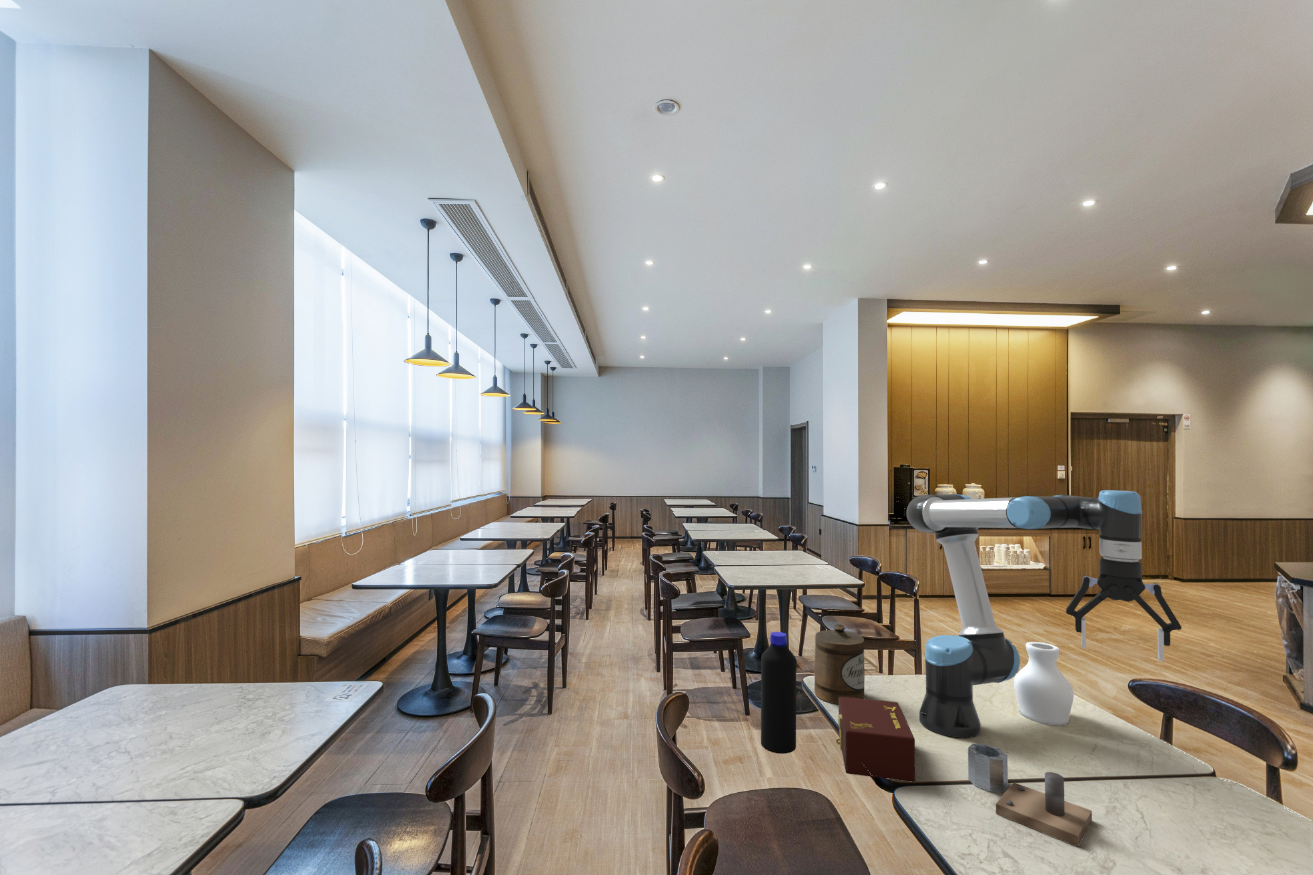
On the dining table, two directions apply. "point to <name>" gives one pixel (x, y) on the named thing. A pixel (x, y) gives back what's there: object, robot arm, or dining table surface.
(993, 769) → the hub
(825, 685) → the wooden container
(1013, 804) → the shaft block
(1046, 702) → the vase
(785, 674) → the bottle
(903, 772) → the box
